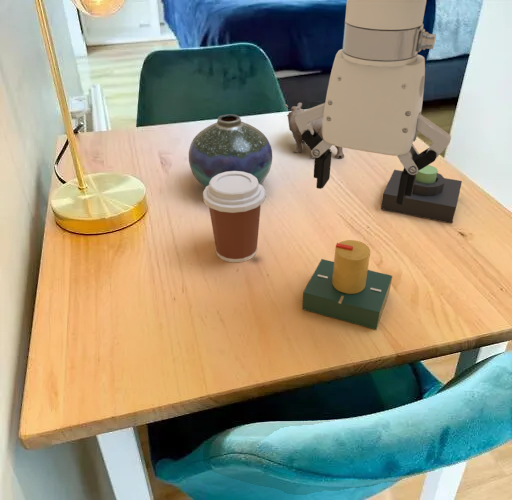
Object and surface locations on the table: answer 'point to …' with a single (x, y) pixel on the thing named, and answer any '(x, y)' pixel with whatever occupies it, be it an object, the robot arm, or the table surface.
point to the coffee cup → (235, 214)
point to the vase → (229, 150)
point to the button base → (424, 198)
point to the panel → (347, 297)
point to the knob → (350, 266)
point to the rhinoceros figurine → (297, 134)
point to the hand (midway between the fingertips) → (361, 191)
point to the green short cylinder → (427, 175)
